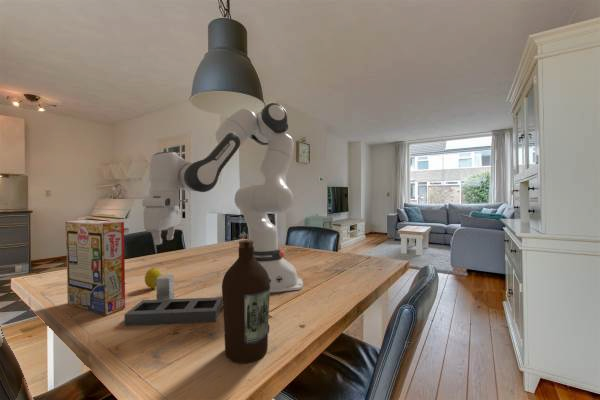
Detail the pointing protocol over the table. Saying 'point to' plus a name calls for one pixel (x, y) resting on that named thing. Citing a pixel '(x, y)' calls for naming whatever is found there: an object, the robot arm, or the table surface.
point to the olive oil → (246, 307)
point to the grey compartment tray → (174, 311)
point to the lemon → (152, 277)
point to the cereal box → (95, 265)
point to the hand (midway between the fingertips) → (164, 242)
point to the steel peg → (165, 287)
